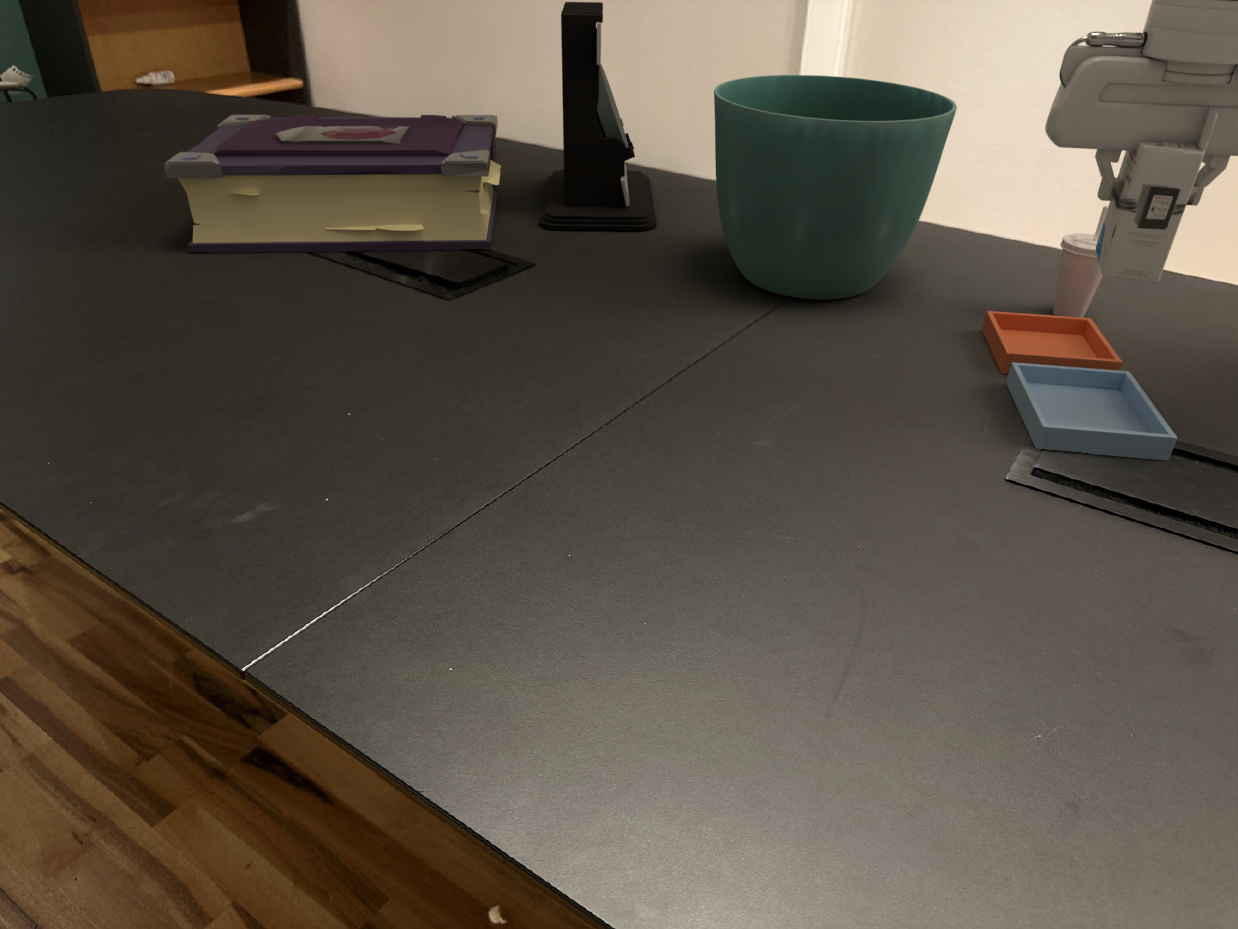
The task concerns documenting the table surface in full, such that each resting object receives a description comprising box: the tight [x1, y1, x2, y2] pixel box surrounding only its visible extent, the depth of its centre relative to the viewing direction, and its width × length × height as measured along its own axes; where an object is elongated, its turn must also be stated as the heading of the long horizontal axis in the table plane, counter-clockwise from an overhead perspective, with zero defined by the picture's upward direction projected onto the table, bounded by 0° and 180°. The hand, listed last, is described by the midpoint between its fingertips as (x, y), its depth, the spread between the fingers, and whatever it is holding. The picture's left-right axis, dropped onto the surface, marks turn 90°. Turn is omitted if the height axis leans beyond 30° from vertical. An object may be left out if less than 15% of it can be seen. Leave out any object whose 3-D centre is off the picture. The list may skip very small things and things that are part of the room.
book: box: [164, 114, 502, 254], centre depth 142 cm, size 33×45×14 cm
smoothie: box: [1052, 205, 1108, 318], centre depth 113 cm, size 6×6×14 cm
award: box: [539, 1, 658, 231], centre depth 146 cm, size 30×19×30 cm, turn 1°
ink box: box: [1096, 106, 1218, 284], centre depth 81 cm, size 9×5×15 cm, turn 160°
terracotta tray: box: [981, 310, 1123, 375], centre depth 105 cm, size 12×12×3 cm
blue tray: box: [1005, 362, 1178, 462], centre depth 92 cm, size 12×14×3 cm
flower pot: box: [713, 74, 958, 301], centre depth 120 cm, size 30×30×24 cm
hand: (1146, 201), depth 82 cm, fingers closed on ink box, 5 cm apart
